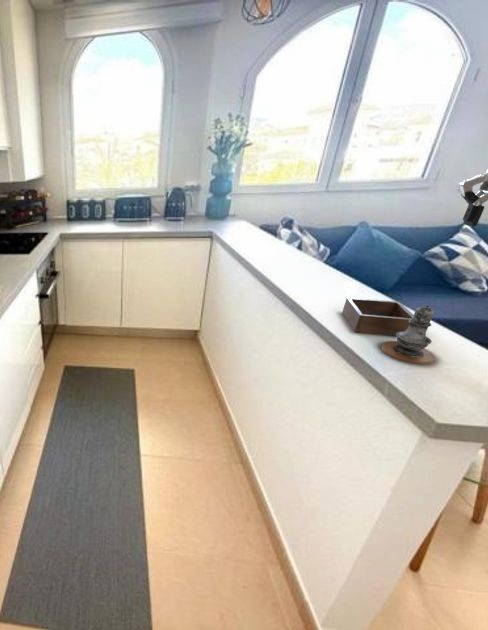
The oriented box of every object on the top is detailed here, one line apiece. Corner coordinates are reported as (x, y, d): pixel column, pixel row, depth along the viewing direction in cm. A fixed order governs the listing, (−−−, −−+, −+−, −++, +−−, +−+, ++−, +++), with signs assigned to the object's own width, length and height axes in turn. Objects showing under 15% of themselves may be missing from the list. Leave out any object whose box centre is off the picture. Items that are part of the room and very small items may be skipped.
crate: (392, 318, 94) (399, 301, 92) (411, 338, 85) (419, 320, 83) (341, 313, 99) (346, 297, 96) (354, 332, 89) (360, 315, 87)
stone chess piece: (384, 346, 82) (402, 299, 76) (406, 343, 82) (426, 297, 77) (409, 359, 76) (430, 310, 71) (433, 356, 77) (455, 307, 71)
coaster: (422, 346, 81) (423, 344, 81) (442, 367, 74) (443, 364, 74) (375, 341, 85) (376, 339, 84) (389, 360, 77) (390, 358, 77)
